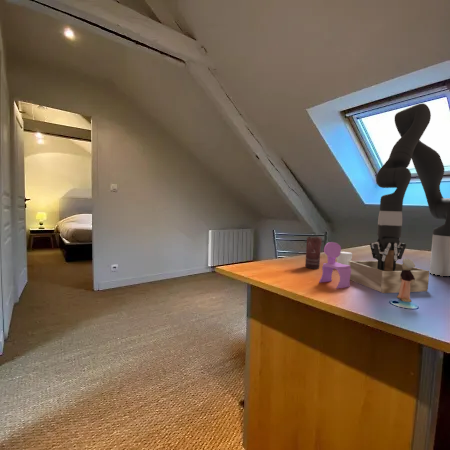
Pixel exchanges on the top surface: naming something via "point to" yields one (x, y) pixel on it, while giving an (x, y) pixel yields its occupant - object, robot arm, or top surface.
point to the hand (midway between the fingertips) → (386, 270)
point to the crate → (386, 277)
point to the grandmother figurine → (406, 280)
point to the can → (313, 252)
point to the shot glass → (344, 258)
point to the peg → (389, 260)
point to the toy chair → (335, 266)
